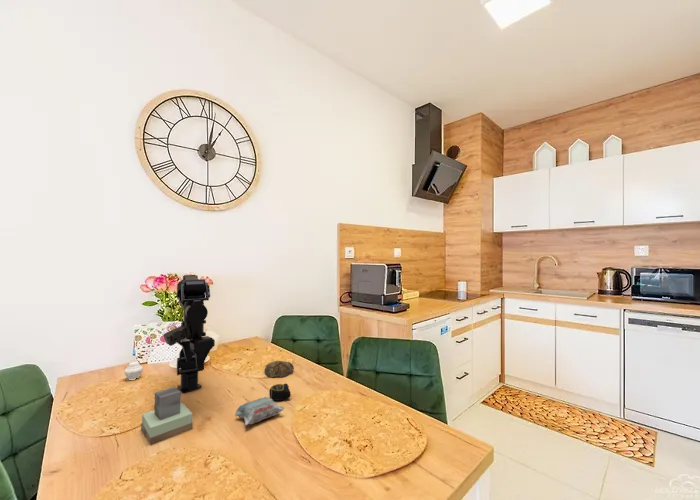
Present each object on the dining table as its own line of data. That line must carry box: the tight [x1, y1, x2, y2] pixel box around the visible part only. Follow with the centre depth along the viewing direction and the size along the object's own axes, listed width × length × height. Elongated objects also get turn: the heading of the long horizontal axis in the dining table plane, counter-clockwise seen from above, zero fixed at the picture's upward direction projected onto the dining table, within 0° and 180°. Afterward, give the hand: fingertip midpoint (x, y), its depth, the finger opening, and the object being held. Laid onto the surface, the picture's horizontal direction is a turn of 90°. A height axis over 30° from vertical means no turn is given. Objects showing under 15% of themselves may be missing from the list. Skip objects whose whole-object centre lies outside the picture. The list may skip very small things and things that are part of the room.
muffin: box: [123, 360, 144, 380], centre depth 119 cm, size 6×6×7 cm
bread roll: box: [263, 360, 295, 379], centre depth 126 cm, size 13×12×5 cm
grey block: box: [153, 386, 182, 420], centre depth 84 cm, size 5×5×6 cm
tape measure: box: [268, 383, 291, 401], centre depth 102 cm, size 7×7×4 cm
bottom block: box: [140, 421, 194, 446], centre depth 83 cm, size 10×10×2 cm
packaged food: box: [234, 396, 285, 427], centre depth 89 cm, size 9×12×5 cm
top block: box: [141, 401, 193, 438], centre depth 84 cm, size 10×10×2 cm
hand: (193, 365), depth 97 cm, fingers open, 9 cm apart
